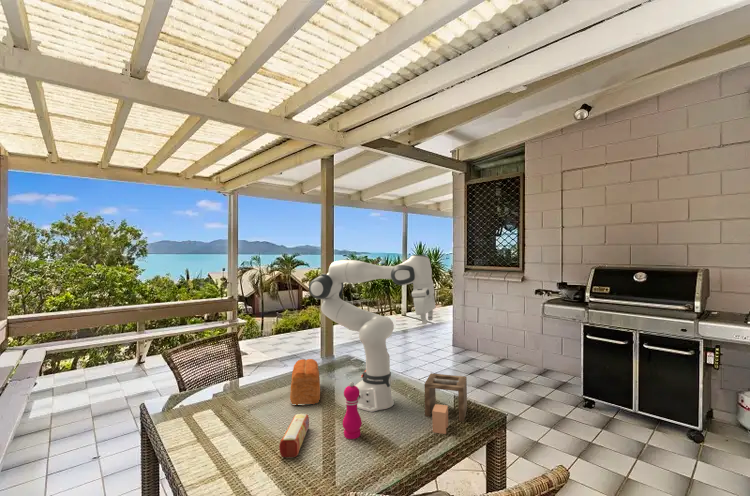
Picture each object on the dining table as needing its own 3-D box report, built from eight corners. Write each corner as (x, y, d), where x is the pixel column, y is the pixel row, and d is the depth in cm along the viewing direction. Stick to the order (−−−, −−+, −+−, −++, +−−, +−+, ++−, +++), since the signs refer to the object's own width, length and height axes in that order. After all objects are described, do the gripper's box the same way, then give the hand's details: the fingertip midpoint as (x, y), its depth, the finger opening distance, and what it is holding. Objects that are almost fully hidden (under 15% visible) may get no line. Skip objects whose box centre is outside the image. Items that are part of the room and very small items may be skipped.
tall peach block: (432, 432, 133) (432, 411, 133) (435, 424, 139) (435, 404, 140) (445, 434, 131) (445, 412, 131) (448, 426, 138) (447, 405, 138)
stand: (425, 416, 146) (424, 383, 147) (431, 402, 160) (430, 372, 160) (464, 421, 141) (463, 387, 141) (467, 407, 154) (466, 376, 155)
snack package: (293, 428, 138) (293, 411, 138) (310, 428, 138) (310, 411, 138) (278, 459, 117) (278, 439, 117) (298, 459, 117) (298, 438, 117)
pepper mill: (359, 440, 127) (358, 385, 128) (340, 439, 129) (339, 384, 129) (363, 431, 135) (362, 379, 135) (345, 429, 136) (345, 378, 137)
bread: (319, 384, 186) (319, 355, 187) (320, 404, 160) (320, 371, 161) (293, 386, 184) (292, 357, 184) (289, 407, 158) (289, 373, 158)
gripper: (423, 289, 164) (427, 318, 163) (410, 293, 146) (414, 326, 145) (436, 287, 162) (440, 317, 161) (424, 292, 143) (428, 326, 142)
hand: (427, 322), depth 153 cm, fingers open, 8 cm apart
